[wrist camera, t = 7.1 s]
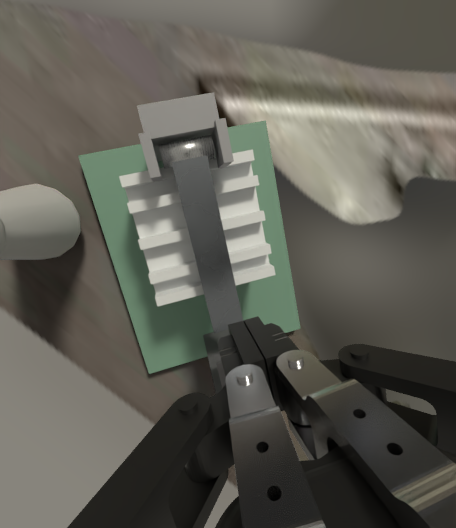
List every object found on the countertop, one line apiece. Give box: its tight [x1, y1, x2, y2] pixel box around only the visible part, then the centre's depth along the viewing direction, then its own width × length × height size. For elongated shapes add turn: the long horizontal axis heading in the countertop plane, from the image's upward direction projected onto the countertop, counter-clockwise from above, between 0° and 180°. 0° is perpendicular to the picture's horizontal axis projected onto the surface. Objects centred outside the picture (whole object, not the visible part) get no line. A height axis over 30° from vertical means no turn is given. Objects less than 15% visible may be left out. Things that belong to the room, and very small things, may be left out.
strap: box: [158, 135, 243, 333], centre depth 18 cm, size 3×13×1 cm, turn 12°
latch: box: [203, 329, 230, 394], centre depth 23 cm, size 4×5×10 cm
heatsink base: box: [78, 93, 300, 374], centre depth 22 cm, size 16×21×10 cm
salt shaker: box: [0, 184, 81, 260], centre depth 18 cm, size 6×6×13 cm
